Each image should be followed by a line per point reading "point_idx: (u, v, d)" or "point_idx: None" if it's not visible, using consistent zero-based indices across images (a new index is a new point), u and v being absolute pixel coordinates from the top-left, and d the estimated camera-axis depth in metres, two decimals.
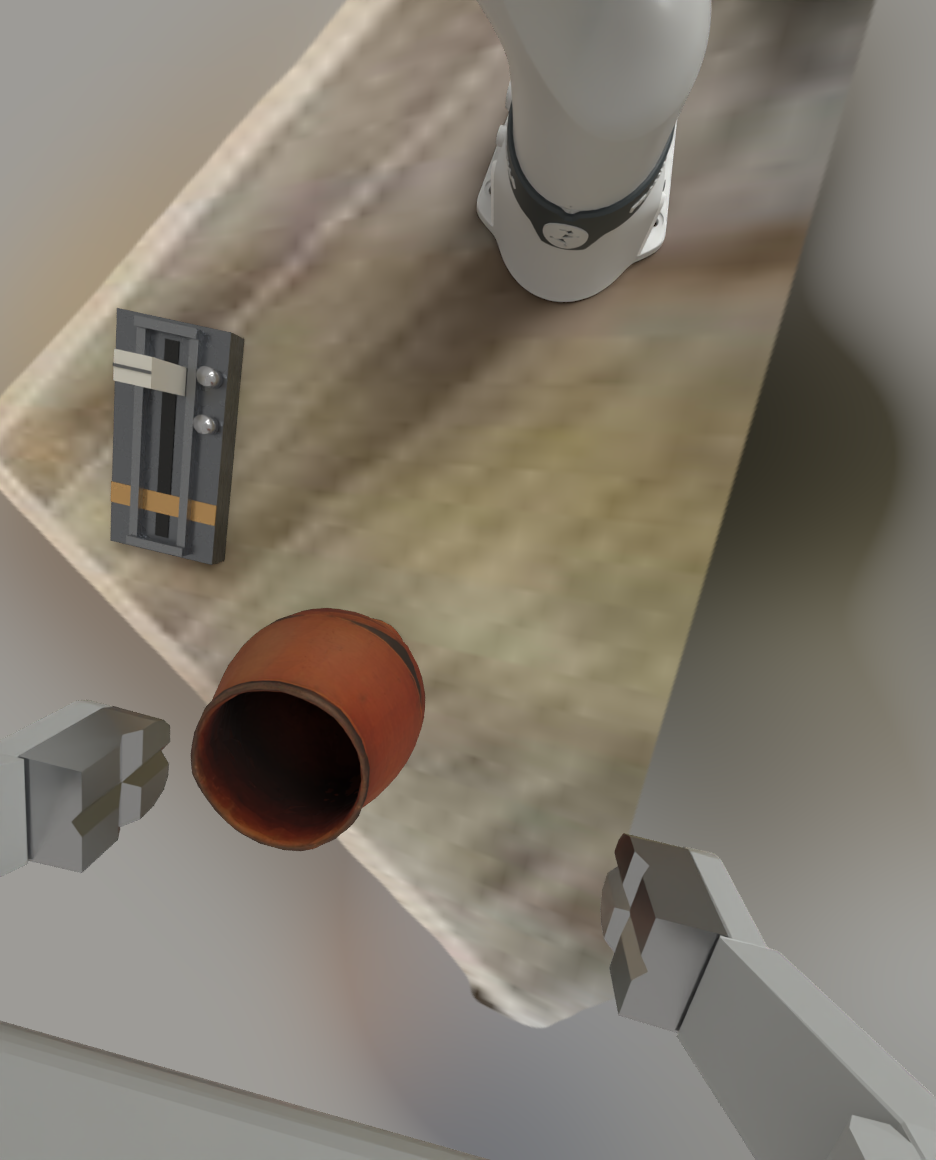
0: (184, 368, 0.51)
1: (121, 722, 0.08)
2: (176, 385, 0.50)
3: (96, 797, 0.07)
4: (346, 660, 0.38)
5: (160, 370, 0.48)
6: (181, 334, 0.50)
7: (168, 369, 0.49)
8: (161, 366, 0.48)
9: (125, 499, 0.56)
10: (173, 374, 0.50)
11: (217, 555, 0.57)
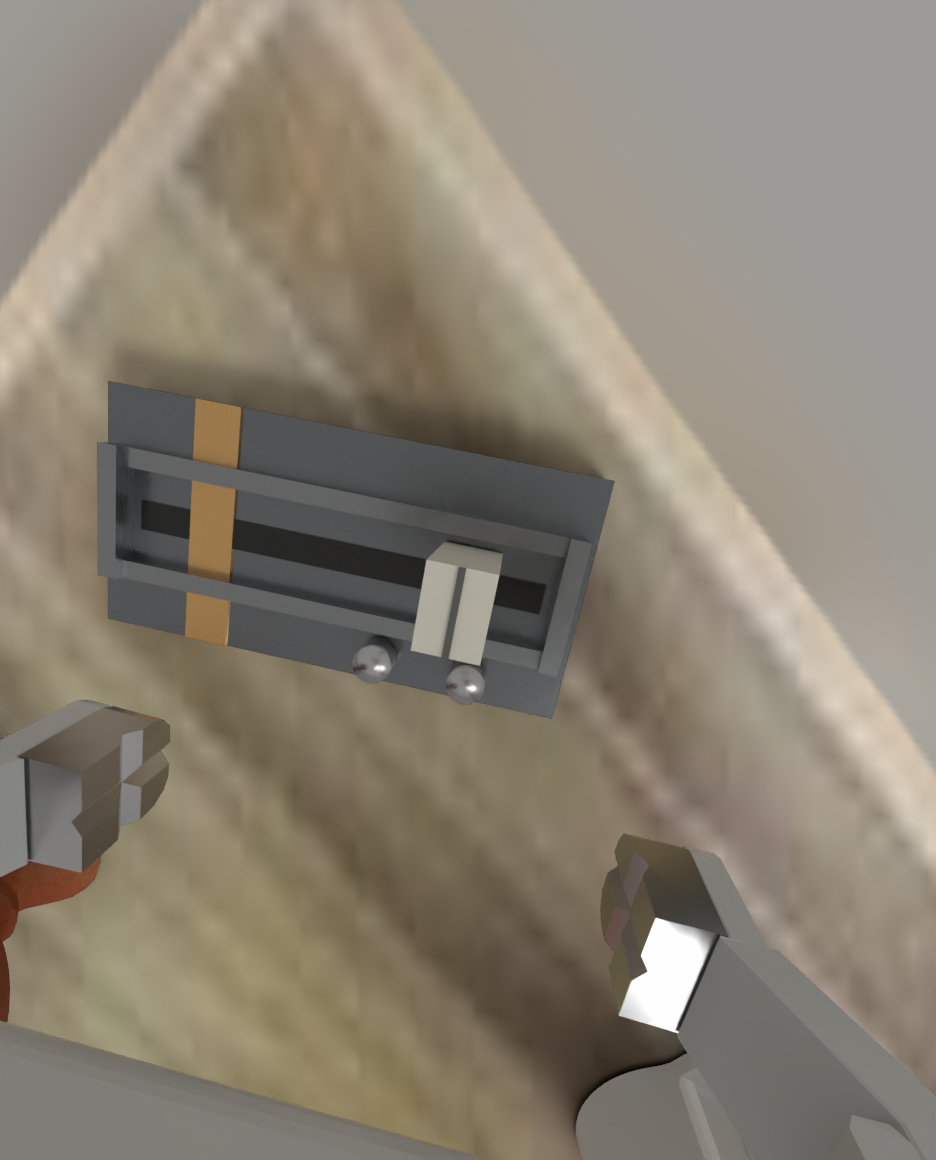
0: None
1: (121, 722, 0.08)
2: None
3: (96, 797, 0.07)
4: None
5: None
6: (547, 643, 0.23)
7: None
8: None
9: (206, 435, 0.24)
10: None
11: None
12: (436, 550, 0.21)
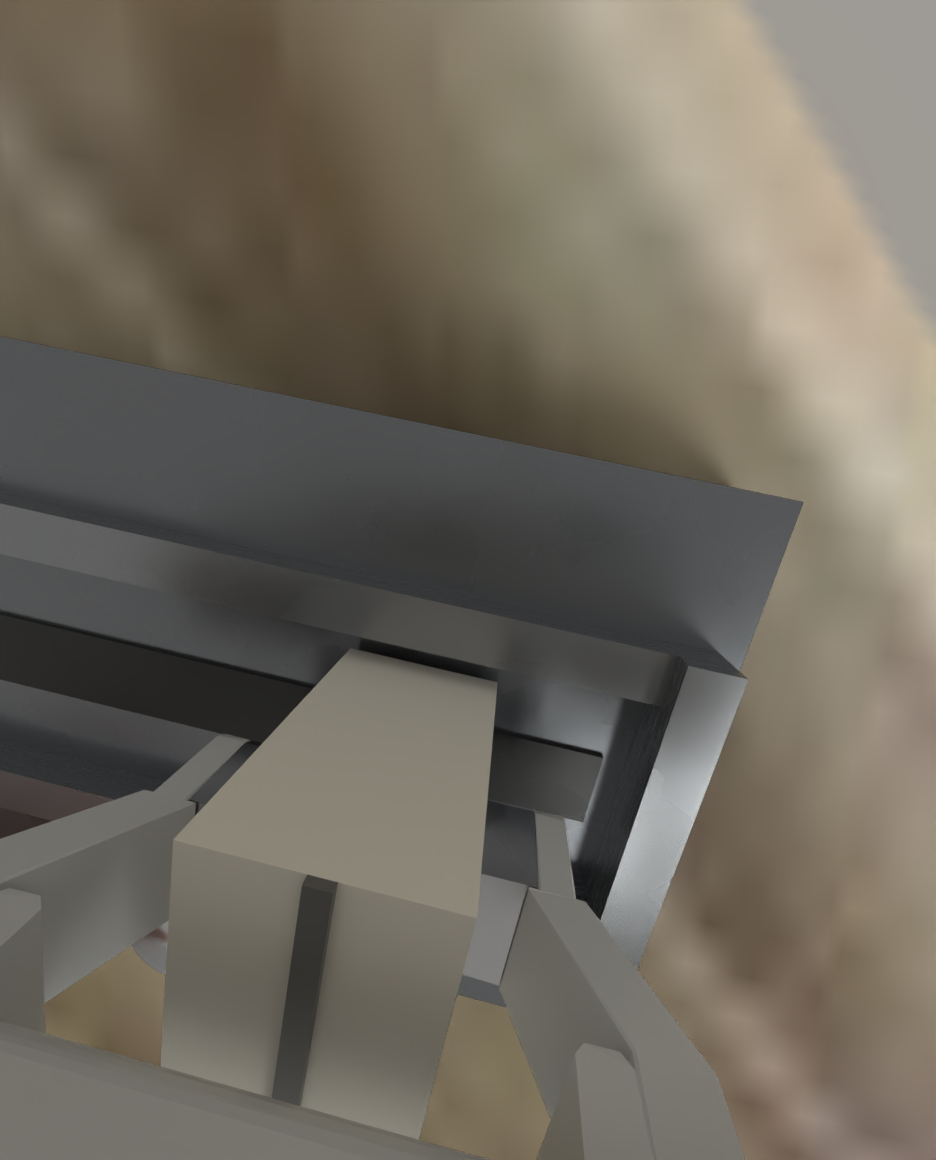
0: None
1: None
2: None
3: None
4: None
5: None
6: (607, 916, 0.09)
7: None
8: None
9: None
10: None
11: None
12: (287, 718, 0.07)
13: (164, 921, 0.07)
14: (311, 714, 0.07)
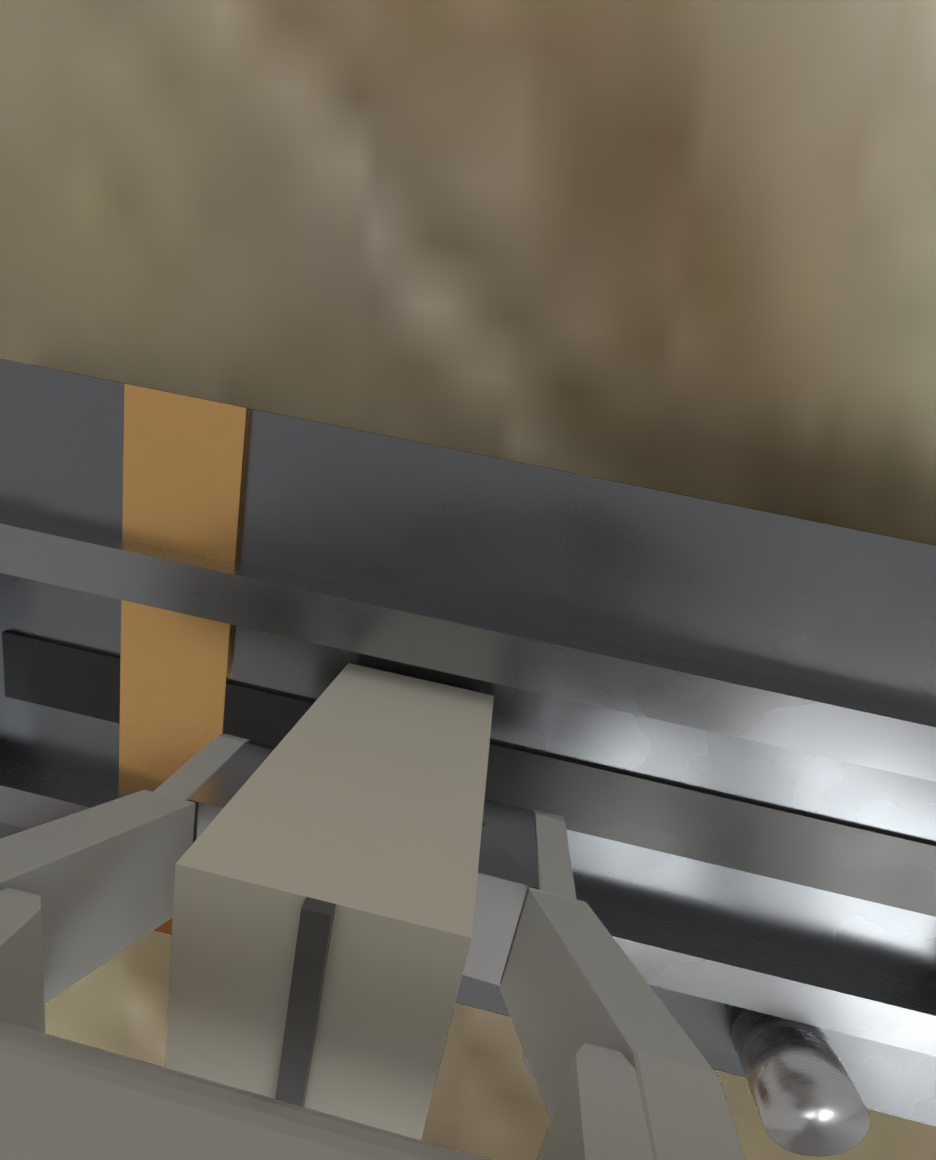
0: None
1: None
2: None
3: None
4: None
5: None
6: None
7: None
8: None
9: (155, 479, 0.09)
10: None
11: None
12: (286, 737, 0.07)
13: (165, 921, 0.07)
14: (310, 732, 0.07)
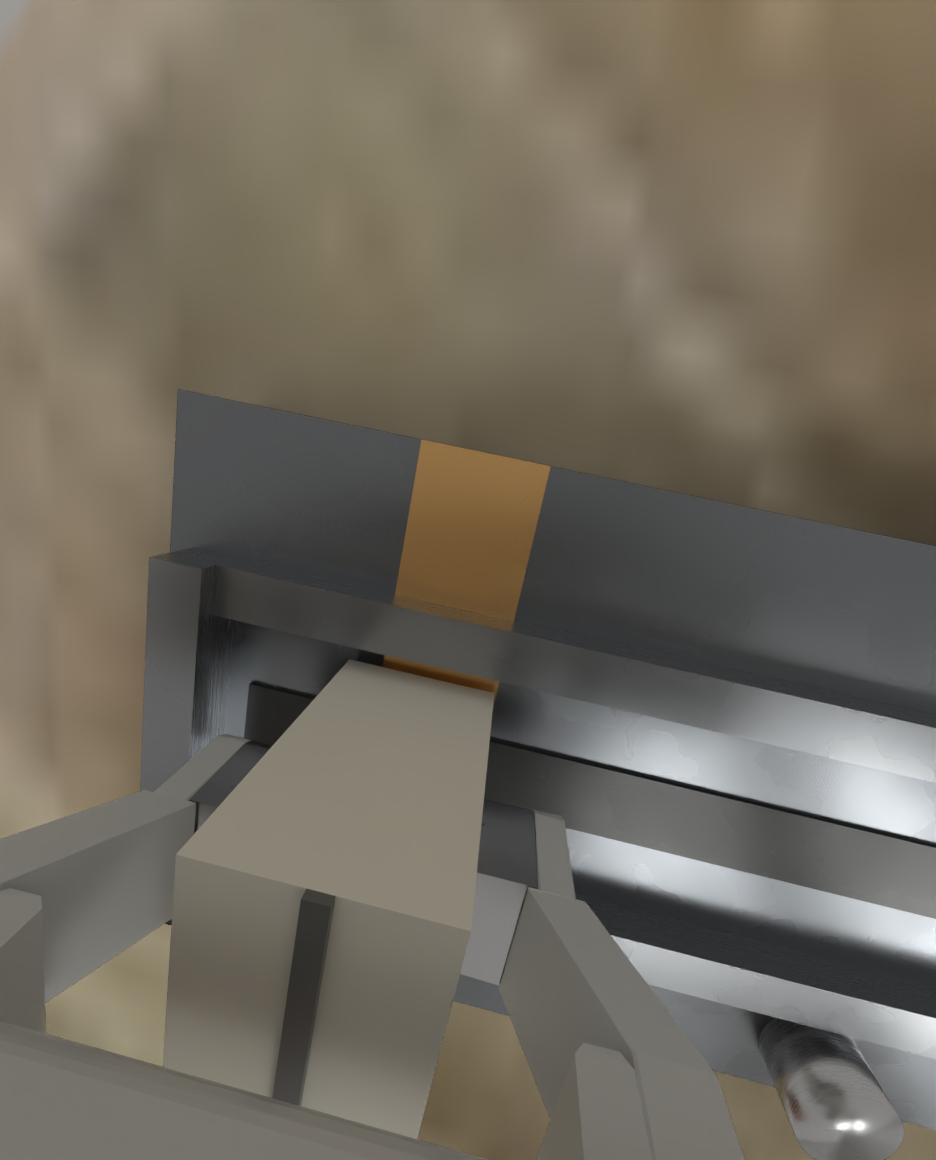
0: None
1: None
2: None
3: None
4: None
5: None
6: None
7: None
8: None
9: (435, 535, 0.09)
10: None
11: None
12: (287, 732, 0.07)
13: (166, 920, 0.07)
14: (310, 727, 0.07)
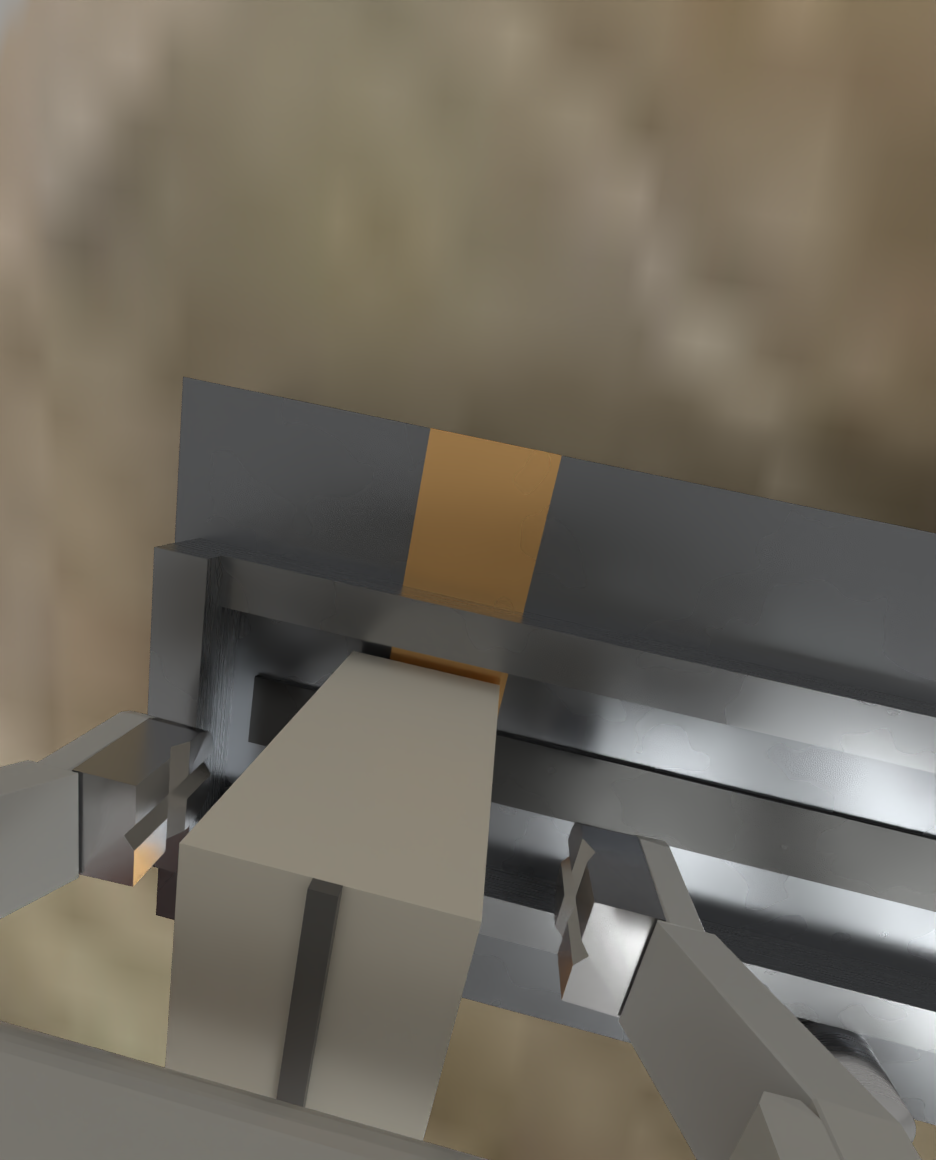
0: None
1: (168, 733, 0.08)
2: None
3: (147, 810, 0.07)
4: None
5: None
6: None
7: None
8: None
9: (444, 525, 0.09)
10: None
11: None
12: (291, 721, 0.07)
13: (52, 890, 0.07)
14: (315, 717, 0.07)
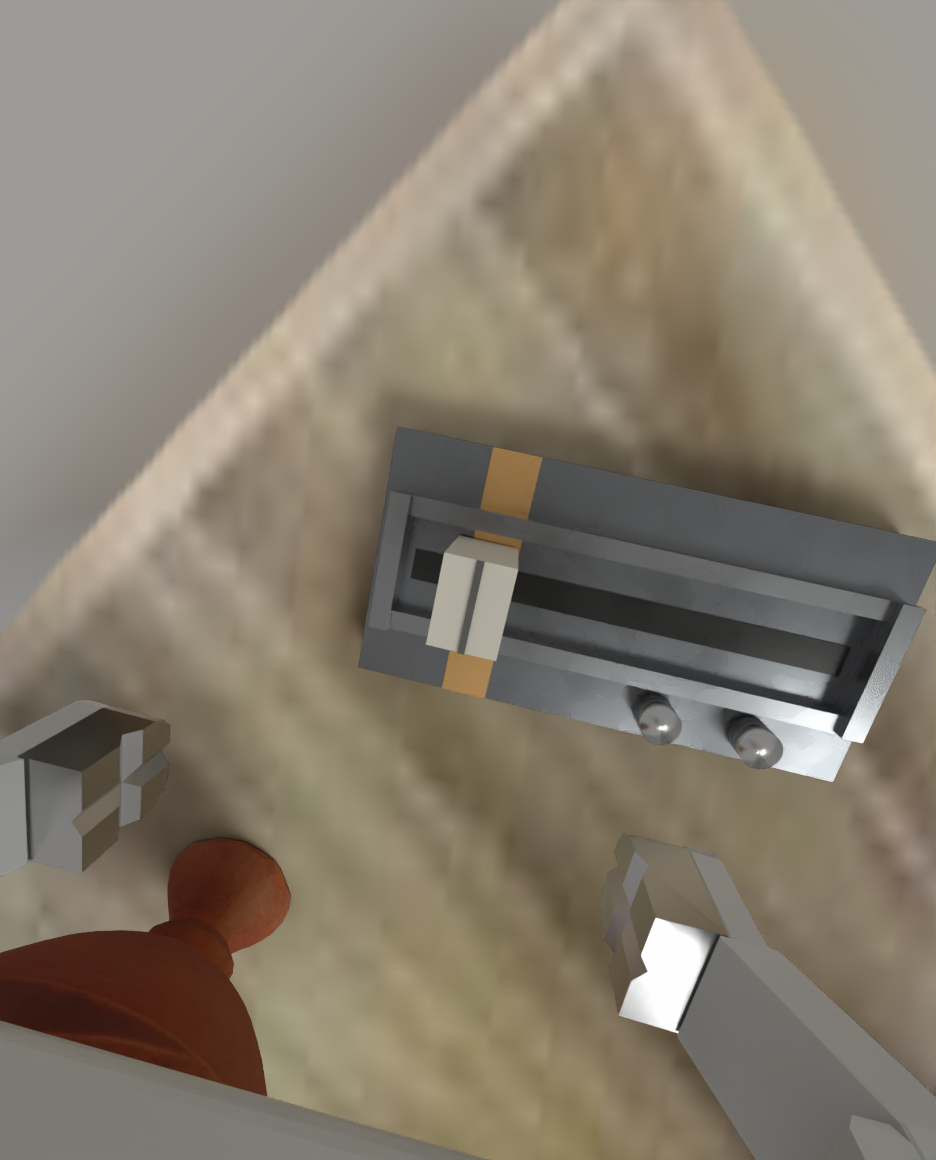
0: None
1: (121, 722, 0.08)
2: None
3: (96, 797, 0.07)
4: None
5: None
6: (857, 709, 0.22)
7: None
8: None
9: (497, 484, 0.23)
10: None
11: None
12: (452, 543, 0.21)
13: None
14: (458, 544, 0.21)
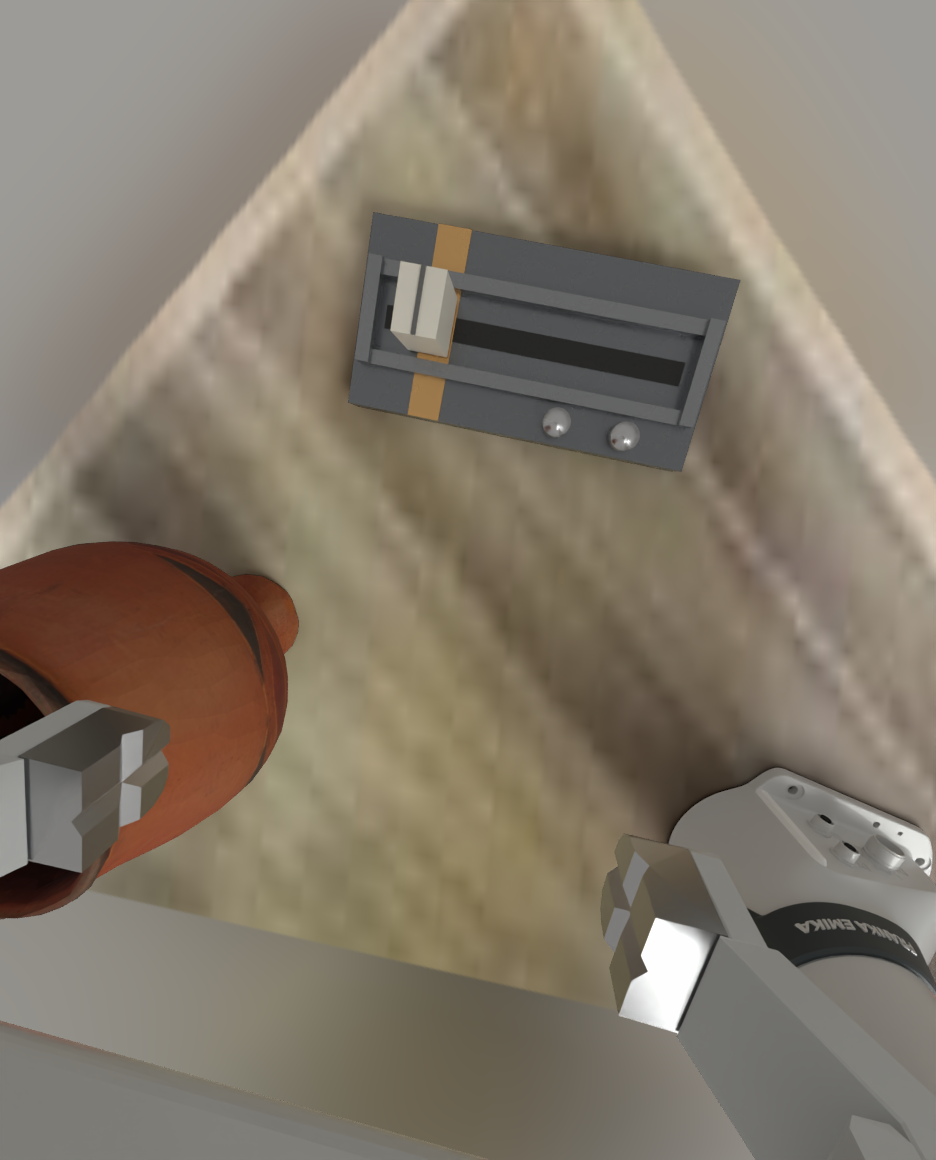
0: (444, 356, 0.34)
1: (121, 722, 0.08)
2: (415, 347, 0.34)
3: (96, 797, 0.07)
4: (190, 811, 0.25)
5: (423, 341, 0.31)
6: (687, 401, 0.33)
7: (431, 346, 0.32)
8: (429, 342, 0.31)
9: (442, 252, 0.33)
10: (428, 348, 0.33)
11: (364, 406, 0.37)
12: None
13: None
14: None
